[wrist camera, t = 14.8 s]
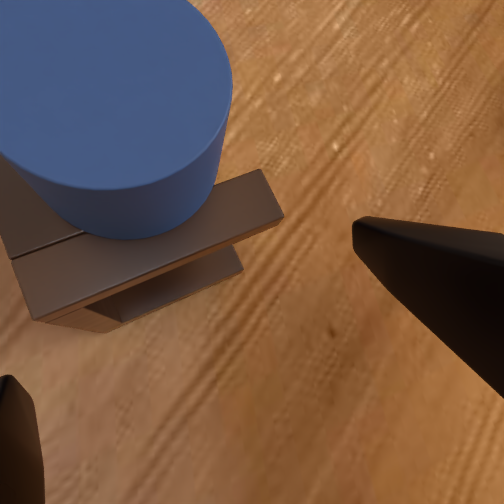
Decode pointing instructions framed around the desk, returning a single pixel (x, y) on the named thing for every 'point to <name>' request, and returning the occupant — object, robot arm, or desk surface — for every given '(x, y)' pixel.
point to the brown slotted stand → (125, 254)
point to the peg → (113, 109)
